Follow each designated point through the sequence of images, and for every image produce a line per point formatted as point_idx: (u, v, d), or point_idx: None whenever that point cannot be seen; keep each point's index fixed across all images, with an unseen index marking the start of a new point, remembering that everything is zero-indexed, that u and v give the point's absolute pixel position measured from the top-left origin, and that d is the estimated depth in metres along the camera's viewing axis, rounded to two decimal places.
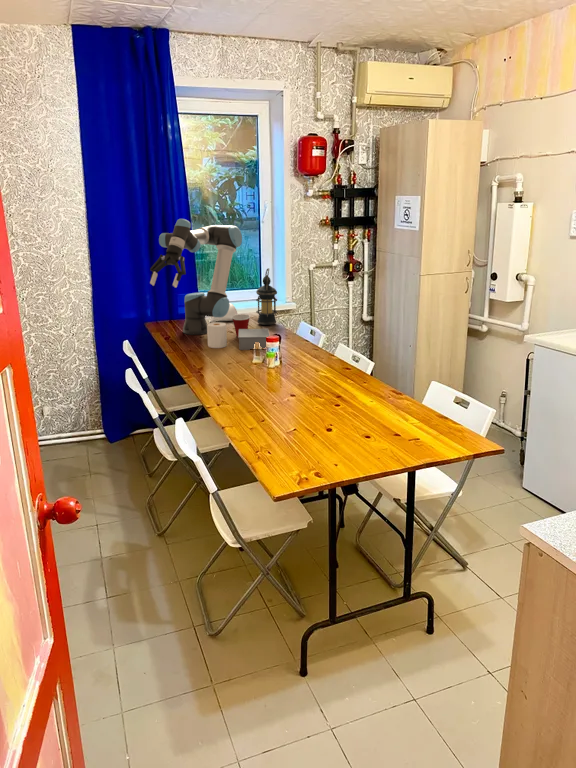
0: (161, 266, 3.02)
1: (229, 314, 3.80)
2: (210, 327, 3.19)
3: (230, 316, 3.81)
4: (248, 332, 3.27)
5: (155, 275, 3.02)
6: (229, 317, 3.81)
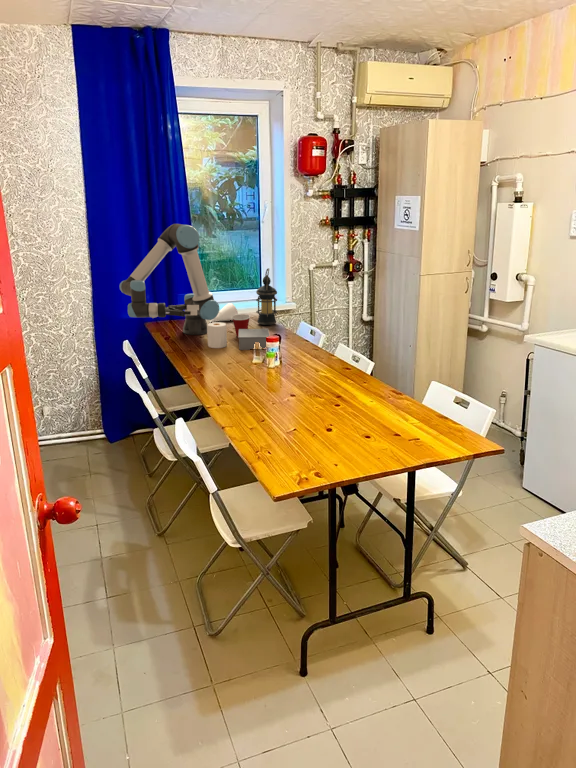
0: (179, 309, 3.23)
1: (230, 314, 3.81)
2: (210, 327, 3.19)
3: (231, 316, 3.81)
4: (248, 332, 3.27)
5: (189, 307, 3.26)
6: (230, 317, 3.81)
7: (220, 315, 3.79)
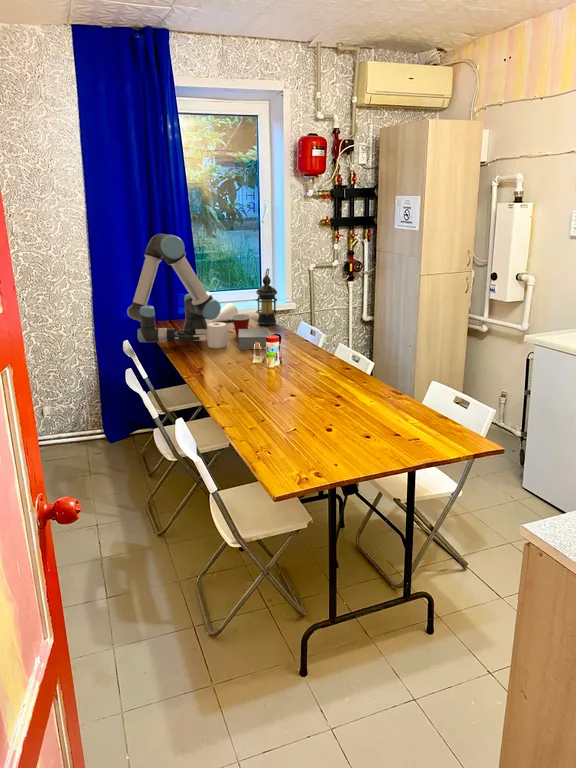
0: (188, 333, 3.28)
1: (230, 314, 3.81)
2: (210, 327, 3.19)
3: (231, 316, 3.82)
4: (248, 332, 3.27)
5: (198, 332, 3.30)
6: (230, 317, 3.82)
7: (221, 315, 3.79)
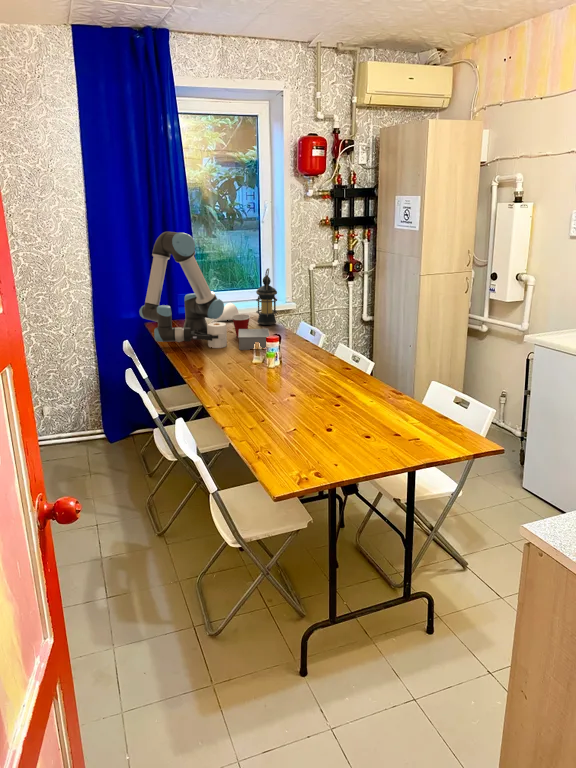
0: (205, 333, 3.28)
1: (231, 314, 3.82)
2: (210, 327, 3.19)
3: (232, 315, 3.82)
4: (248, 332, 3.27)
5: None
6: (231, 317, 3.82)
7: (221, 315, 3.79)
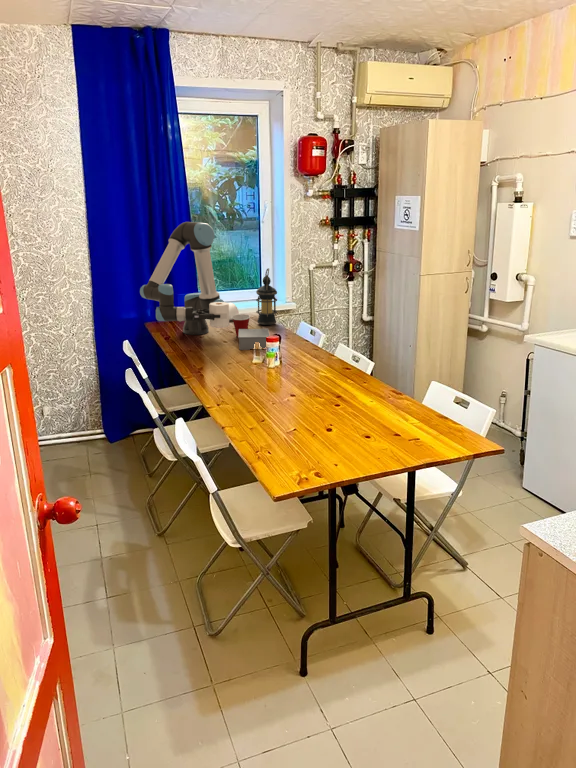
0: (207, 313, 3.24)
1: (231, 314, 3.82)
2: (212, 306, 3.15)
3: (232, 315, 3.83)
4: (248, 332, 3.27)
5: None
6: (231, 316, 3.83)
7: None
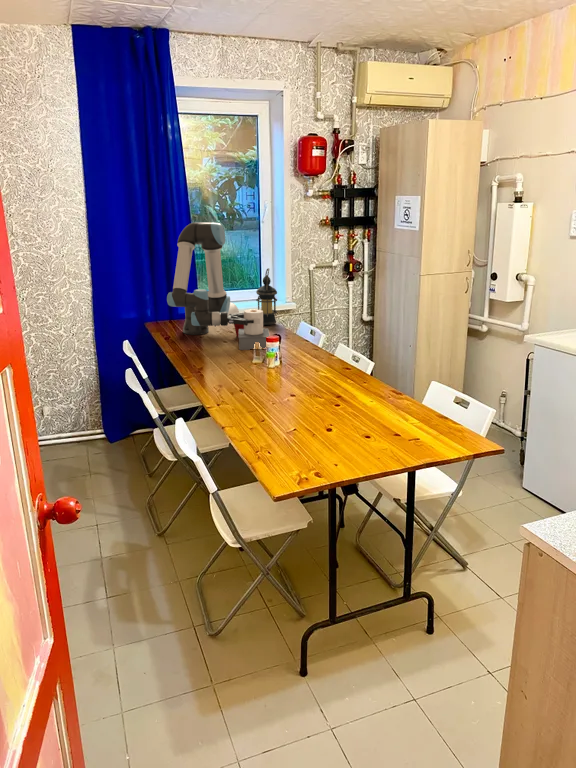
0: (240, 317, 3.27)
1: (232, 313, 3.83)
2: (247, 314, 3.19)
3: None
4: None
5: None
6: None
7: None
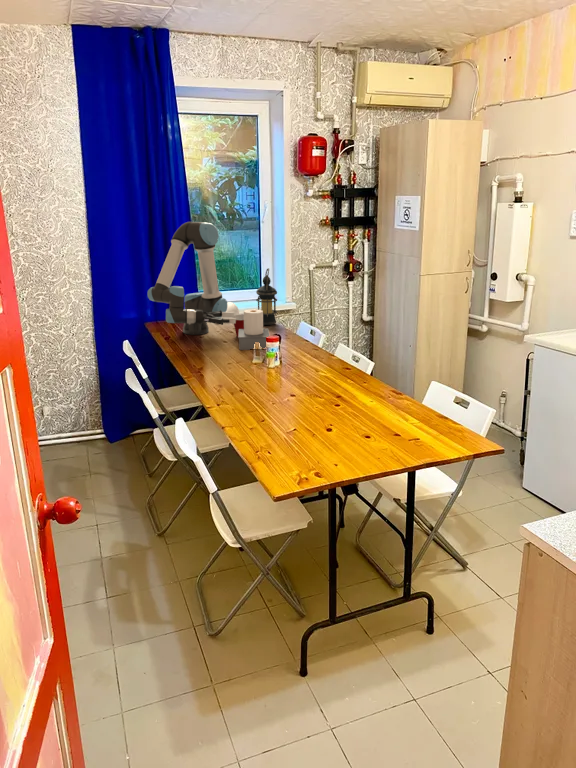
0: (215, 315, 3.26)
1: None
2: (247, 314, 3.19)
3: None
4: None
5: (224, 314, 3.29)
6: None
7: None
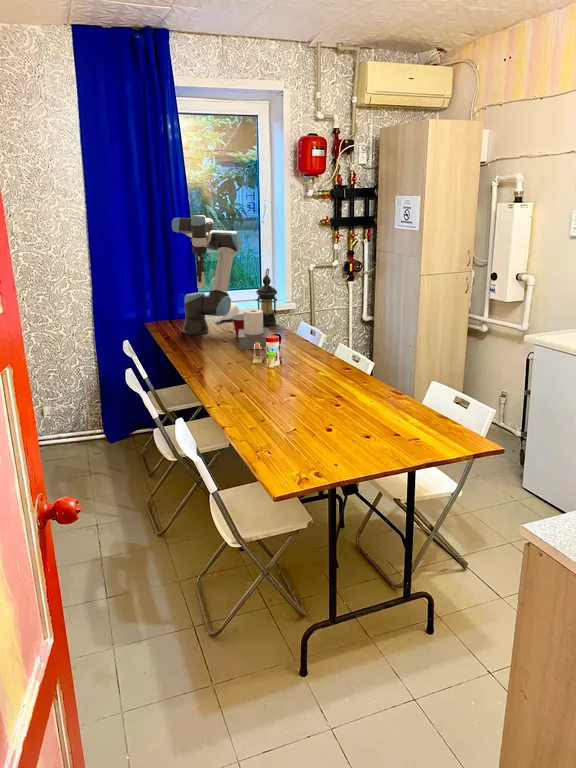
0: None
1: (232, 313, 3.84)
2: (247, 314, 3.19)
3: (233, 315, 3.85)
4: None
5: None
6: None
7: None
